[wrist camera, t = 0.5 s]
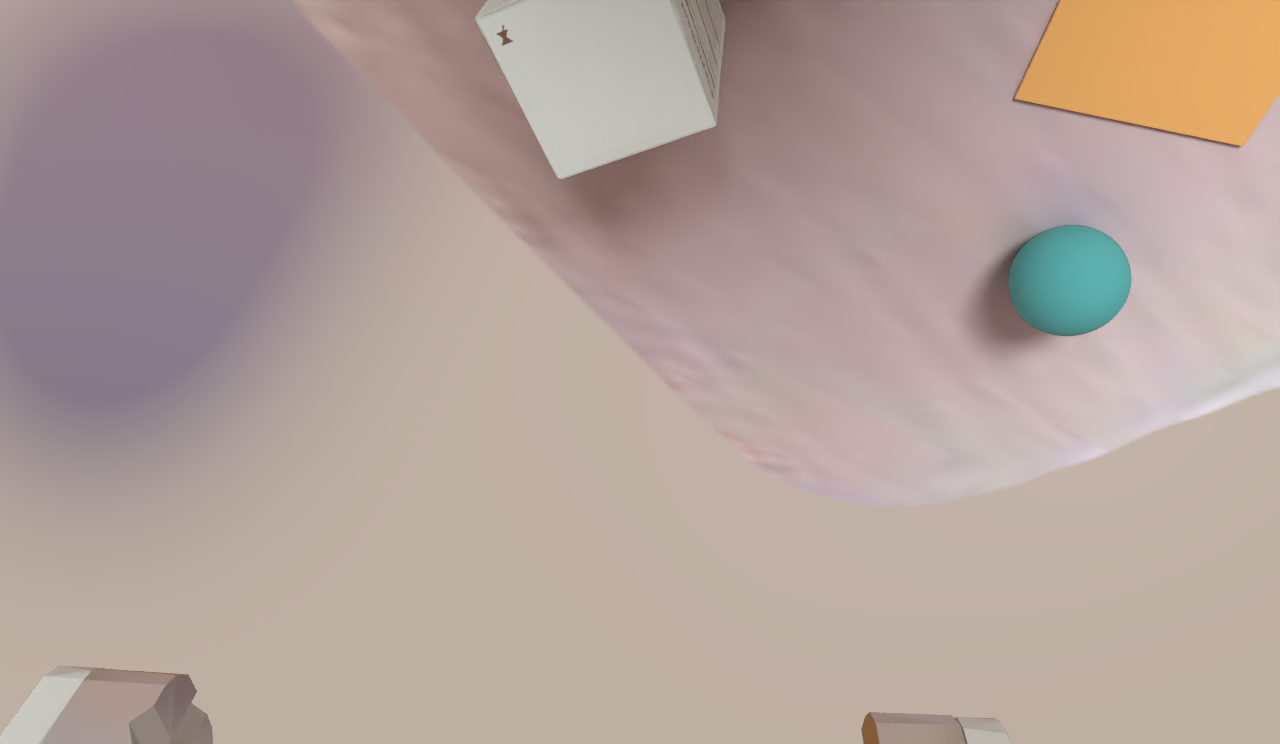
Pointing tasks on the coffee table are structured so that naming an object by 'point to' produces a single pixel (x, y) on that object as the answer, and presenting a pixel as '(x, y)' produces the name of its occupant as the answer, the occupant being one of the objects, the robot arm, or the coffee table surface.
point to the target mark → (1161, 64)
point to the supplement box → (608, 72)
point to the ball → (1069, 280)
